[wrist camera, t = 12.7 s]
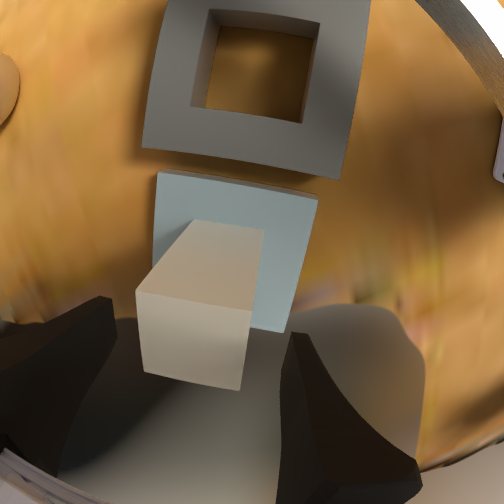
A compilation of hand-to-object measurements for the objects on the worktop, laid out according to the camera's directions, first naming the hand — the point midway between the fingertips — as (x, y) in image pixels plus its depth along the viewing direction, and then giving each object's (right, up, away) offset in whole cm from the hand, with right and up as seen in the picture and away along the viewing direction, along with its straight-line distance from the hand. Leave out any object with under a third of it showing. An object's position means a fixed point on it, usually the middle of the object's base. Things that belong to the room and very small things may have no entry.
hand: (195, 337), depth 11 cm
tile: (+1, +3, +8) cm, 9 cm away
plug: (+1, +3, +7) cm, 7 cm away
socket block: (+3, +13, +4) cm, 14 cm away
